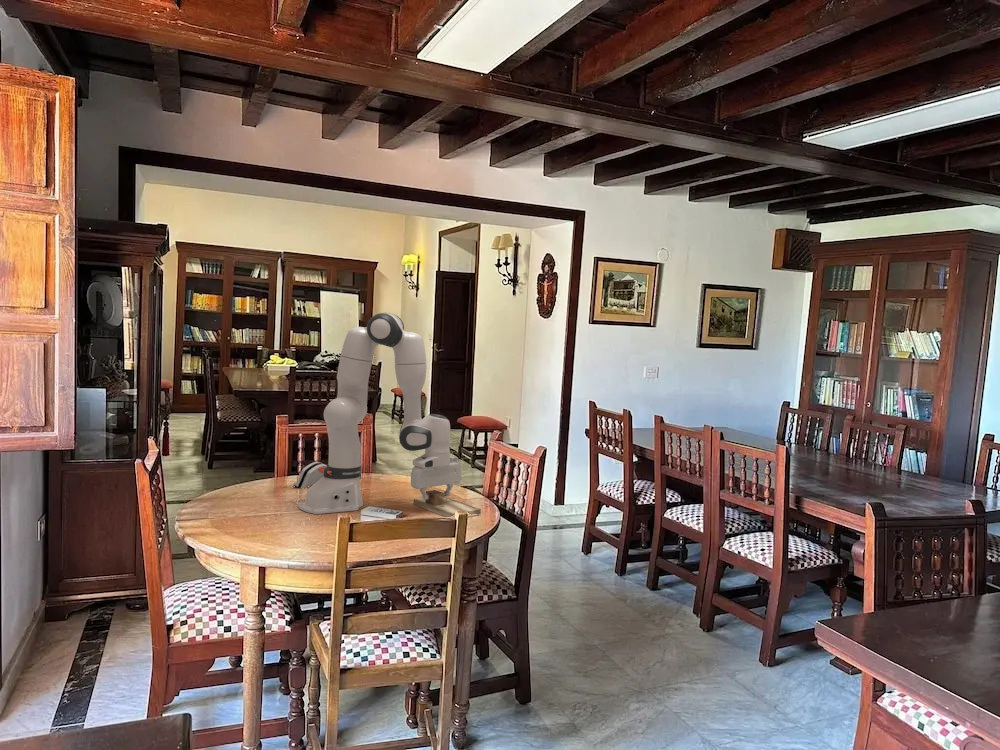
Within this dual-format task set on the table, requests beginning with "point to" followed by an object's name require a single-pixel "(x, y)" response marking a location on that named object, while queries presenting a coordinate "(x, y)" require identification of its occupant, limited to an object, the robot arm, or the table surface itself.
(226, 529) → the table surface
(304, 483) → the grey curved piece
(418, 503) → the board
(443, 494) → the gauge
